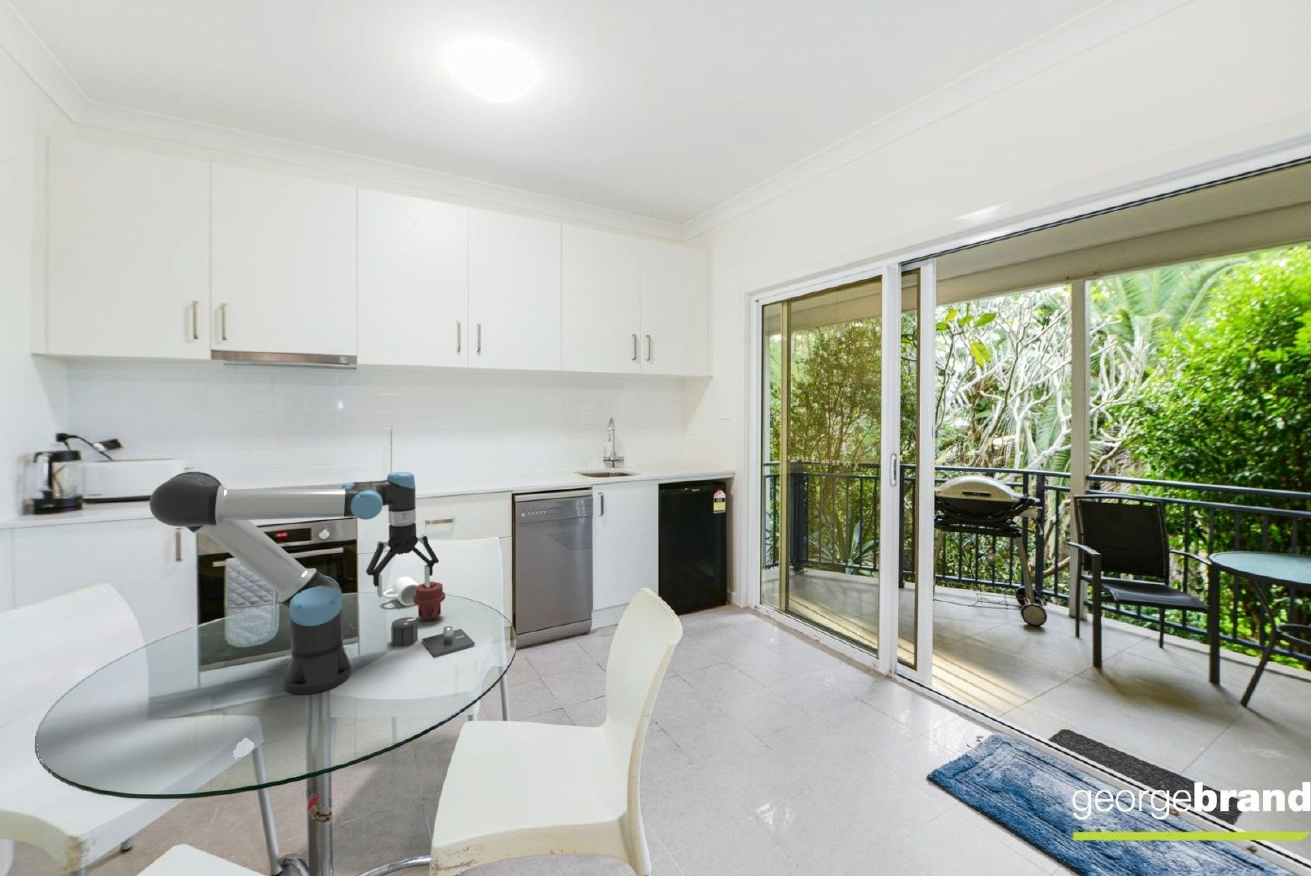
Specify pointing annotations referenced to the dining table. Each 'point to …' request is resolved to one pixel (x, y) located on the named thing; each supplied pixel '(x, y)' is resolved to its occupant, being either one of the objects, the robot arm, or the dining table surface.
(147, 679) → the dining table surface
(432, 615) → the mechanical component
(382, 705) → the dining table surface
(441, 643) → the metal plate
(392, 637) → the knob
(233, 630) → the dining table surface
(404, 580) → the mug
